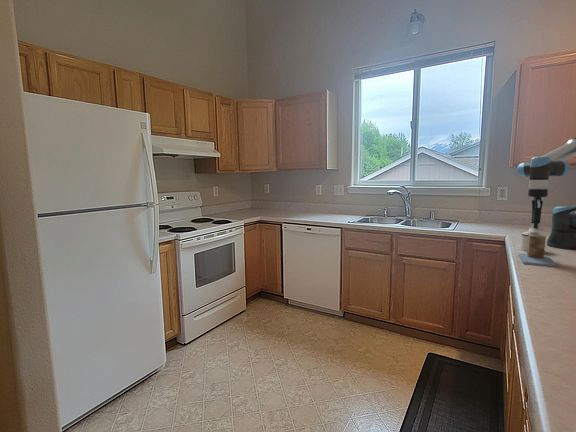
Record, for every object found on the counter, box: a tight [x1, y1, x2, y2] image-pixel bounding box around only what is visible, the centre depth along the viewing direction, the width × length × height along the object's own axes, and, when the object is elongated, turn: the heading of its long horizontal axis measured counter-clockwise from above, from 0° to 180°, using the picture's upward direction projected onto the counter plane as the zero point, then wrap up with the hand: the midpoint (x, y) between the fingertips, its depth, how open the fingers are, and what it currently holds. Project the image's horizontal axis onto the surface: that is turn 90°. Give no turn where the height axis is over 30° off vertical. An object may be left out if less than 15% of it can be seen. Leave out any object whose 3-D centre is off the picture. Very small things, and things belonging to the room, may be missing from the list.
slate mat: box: [518, 253, 557, 268], centre depth 155 cm, size 12×18×1 cm, turn 150°
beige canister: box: [526, 227, 547, 258], centre depth 157 cm, size 6×6×13 cm
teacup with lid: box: [520, 230, 529, 252], centre depth 177 cm, size 12×9×12 cm
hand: (534, 236), depth 160 cm, fingers closed
